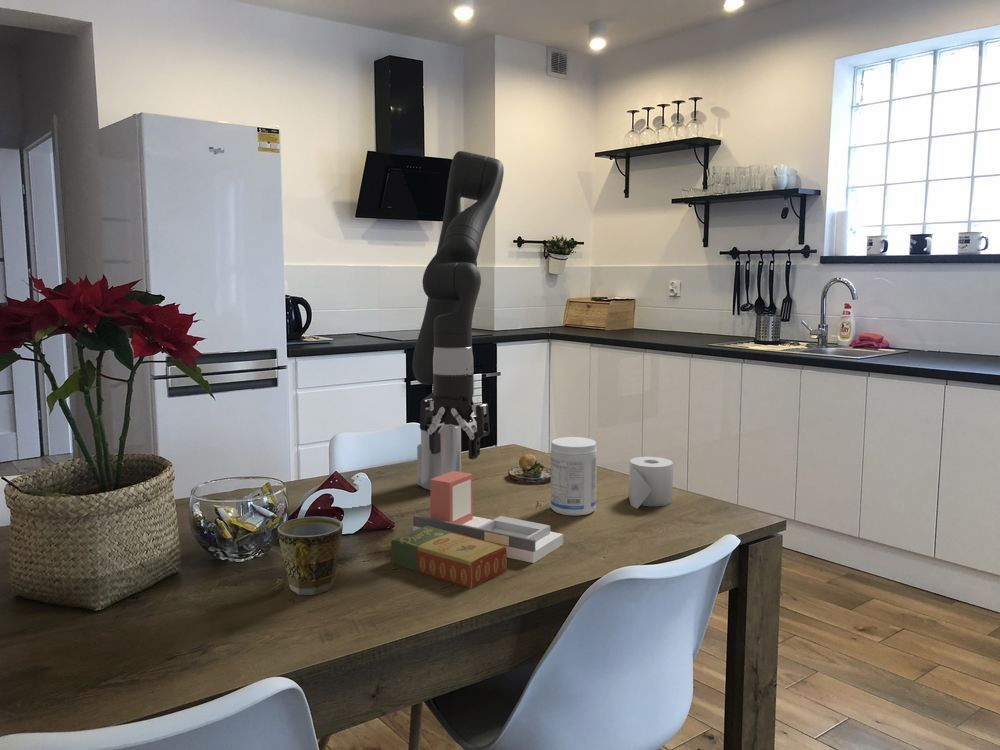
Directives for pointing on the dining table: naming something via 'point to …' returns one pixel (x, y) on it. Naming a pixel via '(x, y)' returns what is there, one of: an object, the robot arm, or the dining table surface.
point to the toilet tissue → (650, 481)
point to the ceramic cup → (310, 552)
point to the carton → (449, 556)
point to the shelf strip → (503, 534)
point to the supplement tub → (573, 475)
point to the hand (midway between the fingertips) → (454, 455)
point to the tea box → (452, 497)
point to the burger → (529, 471)
